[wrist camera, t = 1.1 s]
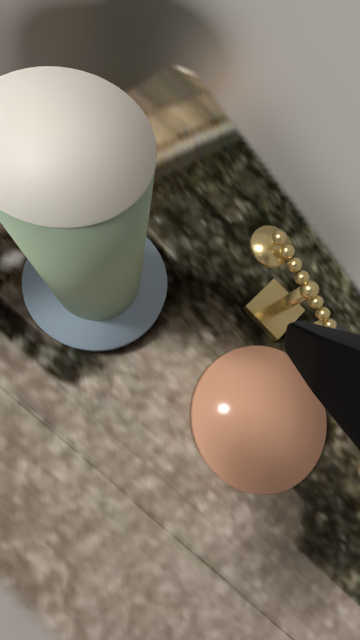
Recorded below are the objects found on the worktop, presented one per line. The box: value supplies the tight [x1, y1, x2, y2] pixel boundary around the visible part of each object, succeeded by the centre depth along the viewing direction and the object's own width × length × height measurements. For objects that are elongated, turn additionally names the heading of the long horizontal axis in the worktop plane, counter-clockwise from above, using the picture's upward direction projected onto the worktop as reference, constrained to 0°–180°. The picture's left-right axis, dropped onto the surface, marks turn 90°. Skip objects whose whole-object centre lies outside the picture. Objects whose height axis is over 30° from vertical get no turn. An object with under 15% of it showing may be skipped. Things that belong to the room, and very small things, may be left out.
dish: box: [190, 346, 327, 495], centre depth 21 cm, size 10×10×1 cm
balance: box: [242, 226, 348, 341], centre depth 21 cm, size 4×10×7 cm, turn 44°
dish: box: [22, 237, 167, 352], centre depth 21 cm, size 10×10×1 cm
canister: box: [0, 66, 157, 321], centre depth 15 cm, size 6×6×12 cm
